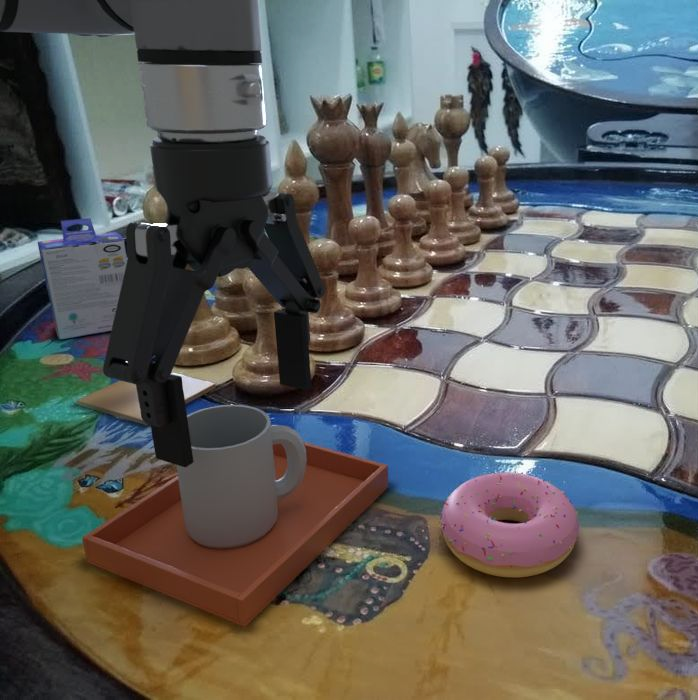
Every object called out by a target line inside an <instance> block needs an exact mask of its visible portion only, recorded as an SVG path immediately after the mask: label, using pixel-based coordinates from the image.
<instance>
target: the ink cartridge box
mask: <svg viewBox="0 0 698 700" xmlns="http://www.w3.org/2000/svg"><path fill="white" fill-rule="evenodd" d="M76 225H77V226H78V225H81V226H86V227H87V229H83V230H82V229H81V230H72V231H70V230H68V228H70V227H72V226H73V227H74V226H76ZM60 226H61V231H62V238H57V239H48V240H41V241H40V240H39V241H37V247H38V252H39V258H40V261H41V262H40V263H41V267H42V271H43V277H44V281H45V286H46V290H47V293H48V294H47V295H48V298H49V302H50V307H51V313H52V317H53V322H54V328H55V329H54V330H55V332H56V335H57V338H58V340H66V339H71V338H77V337H78V338H79V337H83V336H88V335H96V334H100V333H107V332H111V331H112V326H113V322H114V317H115V313H116V308H117V304H118V300H119V295H120V291H121V286H122V282H123V278H124V273H125V269H126V264H127V260H128V257H127V248H126V242H125V238H124V237H122V236H121V235H120V234H119V233H118V232H116V231H115V232H106V233H98V234H97V233H96V231H95V228H94V224H93V222H92V218H91V217H89V218H79V219H78V218H77V219H66V220H65V219H64V220H60Z"/></svg>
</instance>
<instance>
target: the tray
mask: <svg viewBox="0 0 698 700" xmlns="http://www.w3.org/2000/svg"><path fill="white" fill-rule="evenodd" d="M303 442H304V446H305V449H306V460H307V461H306V468H305V475H304V477H303V480H302V482H301V484H300V486H299V487H298V488H297V489H296V490H295V492H294V493H292V494H291V495H289V496H287V497H286V498H283V499H280V500H277V504H278V516H277V520H276V522H275V524H274V525H273V527H272V528H271V530H270V531H269V532H268V533H267V534H266V535H265V536H263V537H262V538H260V539H258V540H257V541H255V542H253V543H250V544H247V545H245V546H241V547H236V548H230V549H215V548H208V547H205V546H202V545H200V544H199V543H197V542H196V541H194V540H193V539H192V538H190V536H189V534H188V533H187V531H186V527H185V522H184V515H183V508H182V501H181V494H180V488H179V481H178V475H176V476H174V477H173V478H171V479H170V480H168V481H167V482H166V483H164V484H162V485H160V486H159V487H158V488H156V489H155V490H153V491H151V492H150V493H148V494H147V495H145V496H144V497H141V499H139V500H137V501H136V502H134V503H132V504H131V505H130V506H128V507H127V508H125V509H123V510H122V511H119V513H118V514H116V515H114V516H113V517H111V518H110V519H108V520H106V521H105V522H103V523H102V524H100V525H99V526H97V527H96V528H94V529H92V530H91V531H90V532H88V533H86V534H85V535H83V536H82V537H81V539H82V544H83V549H84V554H85V558H86V563H87V564H90V565H93V566H96V567H97V568H100V569H103V570H104V571H107V572H110V573H113V574H115V575H117V576H120V577H122V578H125V579H127V580H129V581H132V582H134V583H137V584H138V585H141V586H144V587H146V588H149V589H151V590H154V591H156V592H159V593H161V594H163V595H165V596H168V597H170V598H173V599H175V600H178V601H181V602H183V603H186V604H188V605H190V606H193V607H195V608H197V609H199V610H203V611H205V612H207V613H209V614H212V615H214V616H216V617H219V618H222V619H224V620H227V621H229V622H231V623H234V624H237V625H239V626H242V627H244V628H246V627H247V626H249V624H250V623H251V622H253V620H254V619H255V618H257V616H258V615H259V614H260V613H262V611H264V610H265V609H266V608H267V607H268V605H269V604H271V603H272V602H273V600H275V599H276V597H278V596H279V595H280V594H281V593H282V592H283V591H284V590H285V589H286V588H287V587H288V586H289V585H290V584H291V583H292V582H293V581H294V580H296V578H297V577H298V576H299V575H301V573H302V572H304V570H306V568H307V567H309V565H310V564H312V562H313V561H315V560H316V558H318V557H319V556H320V555H321V554H322V553H323V552H324V551H325V550H326V549H327V548H328V547H329V546H331V544H332V543H333V542H334V541H335V540H336V539H337V538H338V537H339V536H340V535H341V534H342V533H343V532H344V531H345V530H346V529H347V528H348V527H349V526H351V524H352V523H353V522H354V521H356V520H357V518H358V517H360V515H362V514H363V513H364V511H366V510H367V508H369V507H370V506H371V505H372V504H373V503H374V502H375V501H376V500H377V499H378V498H379V497H380V496H381V495H382V494H383V493H384V492H385V491H386V490H387V489H388V488H389V465H388V464H386V463H382V462H377V461H374V460H371V459H367V458H363V457H359V456H356V455H353V454H350V453H346V452H342V451H338V450H335V449H331V448H328V447H325V446H320V445H317V444H313V443H310V442H307V441H303ZM273 456H274V467H275V478H276V480H279V479H280V478H282V477H283V476H284V474H285V472H286V470H287V464H288V463H287V455H286V451H285V449H284V447H283V445H282V444H275V445H273Z"/></svg>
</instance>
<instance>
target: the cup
mask: <svg viewBox="0 0 698 700" xmlns="http://www.w3.org/2000/svg"><path fill="white" fill-rule="evenodd" d="M187 419H188V426H189V433H190V440H191V447H192V454H193V461H194V463H192V464H190V465H189V466H187V467H186V468H185V467H182V466H179V465H176V464H175V465H176V466H175V467H176V473H177V474H176V475H177V476H178V481H179V488H180V494H181V501H182V508H183V515H184V522H185V527H186V531H187V533H188V534H189V536H190V538H192V539H193V540H194V541H196V542H197V543H199V544H200V545H202V546H205V547H208V548H215V549H230V548H236V547H241V546H245V545H247V544H250V543H253V542H255V541H257V540H258V539H260V538H262V537H263V536H265V535H266V534H267V533H268V532H269V531H270V530H271V528H272V527H273V525H274V524H275V522H276V520H277V516H278V504H277V500H280V499H283V498H286V497H287V496H289V495H291V494H292V493H294V492H295V490H296V489H297V488H298V487H299V486H300V484H301V482H302V480H303V477H304V475H305V468H306V461H307V460H306V449H305V446H304V442H305V441H304V439H303V438H302V437H301V435H300V434H299V432H298V431H297V430H295V429H294V428H292V427H290V426H288V425H282V424H281V425H280V424H271V423H272V421H271V419H270V416H269V415H268V414H267V412H266V411H264V410H262V409H260V408H258V407H253V406H249V405H245V404H244V405H243V404H221V405H214V406H210V407H206V408H202V409H199V410H195V411H193V412H191V413H188V414H187ZM275 444H282V445H283V447H284V449H285V451H286V455H287V463H288V464H287V470H286V472H285V474H284V476H283V477H282V478H280V479H279V480H276V478H275V467H274V456H273V445H275Z"/></svg>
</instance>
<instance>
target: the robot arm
mask: <svg viewBox="0 0 698 700" xmlns="http://www.w3.org/2000/svg"><path fill="white" fill-rule="evenodd" d="M0 32H3V33H31V34H32V33H33V34H37V33H38V34H63V35H64V34H66V35H75V36H80V37H92V36H93V37H94V36H95V37H98V38H107V37H112V36H126V35H127V36H129V35H130V36H131V35H133V36H134V40H135V41H134V42H135V47H136V49H137V50H136V57H137V61H138V69H139V76H140V84H141V93H142V99H143V107H144V114H145V115H144V116H145V122H146V123H145V124H146V127H148V128H149V129H150V130H151V131H155V132H156V133H157V136H156V137H154V138H152V142H150V143H149V148H150V156H151V163H152V170H153V178H154V184H155V189H156V192H157V193H158V194H159V195H160V196H161V197H162V199H163V200H164V202H165V204H166V217H165V222H164V223H163V222H162V223H153V224H151V223H146V222H138V221H131V222H129V223H128V224H127V226H126V228H125V240H126V242H125V243H126V255H127V264H126V269H125V273H124V278H123V282H122V286H121V291H120V295H119V300H118V304H117V308H116V313H115V317H114V322H113V326H112V331H110V336H109V339H108V344H107V348H106V353H105V358H104V360H103V361H104V362H103V367H102V372H103V375H104V376H105V377H107V378H110V379H114V380H117V381H120V380H121V381H124V382H128V383H132V384H136V388H137V394H138V400H139V404H140V405H139V406H140V412H141V418H142V419H143V421H144V422H145V423H146V424H149V425H150V430H151V438H152V443H153V448H154V455H155V459H157V460H159V461H163V462H166V463H169V464H173V465H179V466H182V467H185V468H186V467H187V466H189V465H190V464H192V463H194V461H193V454H192V447H191V440H190V433H189V426H188V419H187V415H188V414H187V412H188V411H187V406H186V405H187V404H186V405H185V398H184V391H183V384H182V377H181V376H177V375H173V374H171V372H172V373H173V369H174V367H175V364H176V362H177V360H178V358H179V355H180V353H181V350H182V349H183V346H184V343H185V340H186V339H187V335H188V333H189V331H190V328H191V326H192V324H193V321H194V319H195V317H196V314H197V312H198V309H199V307H200V305H201V302H202V300H203V297H204V295H205V292H207V291H209V290H211V289H212V288H213V287H214V286H215V284H216V281H217V279H218V277H219V278H222V277H225V276H228V275H229V274H230V273H231V272H233V271H234V270H237V269H238V270H239V269H240V270H241V269H243V270H244V269H247V268H248V270H249V271H250V272H251V273H252V274H253V276H255V278H256V279H257V280H258V281H259V282H260V284H262V286H263V287H264V288H265V290H267V292H268V293H269V294H270V295H271V296H272V297H273V298H274V300H275V301H276V302H277V303H278V304H279V305H280V306H281V307H282V308H283V309H278V310H275V311H274V312H273V318H274V330H275V343H276V353H277V354H276V355H277V366H278V367H277V368H278V379H279V385H281V386H286V387H289V388H293V389H297V390H302V391H308V390H310V389H311V388H312V375H311V361H310V359H311V358H310V344H311V333H310V332H311V331H310V330H311V328H310V314H317V313H319V311H320V309H321V305H322V303H321V300H320V299H322V298H323V297H324V295H325V293H326V286H325V284H324V282H323V280H322V278H321V277H322V276H321V274H320V272H319V270H318V267H317V265H316V262H315V261H314V258H313V255H312V253H311V251H310V249H309V246H308V244H307V241H306V239H305V237H304V234H303V232H302V229H301V227H300V225H299V223H298V217H297V210H296V205H295V199H294V195H293V194H292V193H286V192H278V191H271V190H272V187H273V174H272V159H271V150H270V149H271V147H270V141H269V140H267V138H266V137H265V136H264V135H260V134H259V130H262V129H264V128H265V127H266V126H267V125H268V122H267V121H268V120H267V111H266V98H265V90H264V79H263V78H264V77H263V68H262V67H263V66H262V64H263V58H262V57H263V56H262V40H261V25H260V11H259V0H0ZM187 265H188V266H189V267H190V268H191V269H186V268H187ZM284 309H285V310H284ZM309 313H310V314H309ZM153 358H154V361H152V360H153ZM149 425H148V426H149Z"/></svg>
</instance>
